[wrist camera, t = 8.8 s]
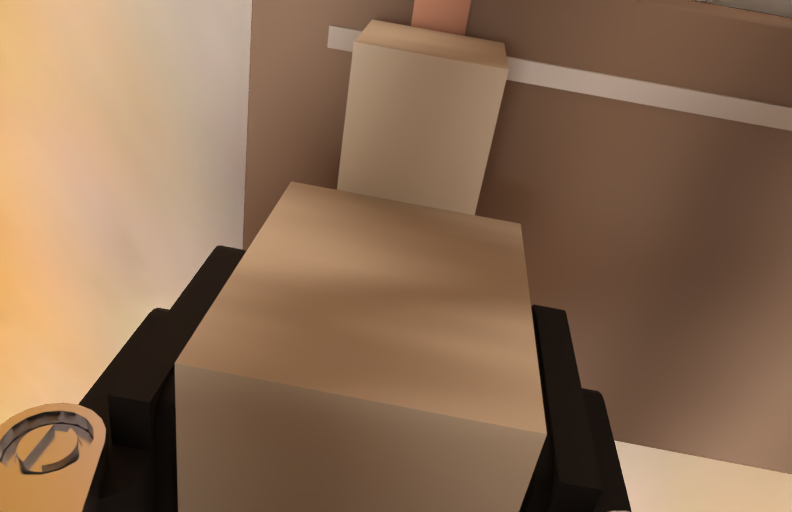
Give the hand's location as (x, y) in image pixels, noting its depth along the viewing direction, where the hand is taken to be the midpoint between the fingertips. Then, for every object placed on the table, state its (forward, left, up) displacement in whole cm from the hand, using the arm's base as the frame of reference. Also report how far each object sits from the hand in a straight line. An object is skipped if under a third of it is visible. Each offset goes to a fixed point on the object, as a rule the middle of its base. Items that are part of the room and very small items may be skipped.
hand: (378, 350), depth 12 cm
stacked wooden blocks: (0, 0, -5) cm, 5 cm away
